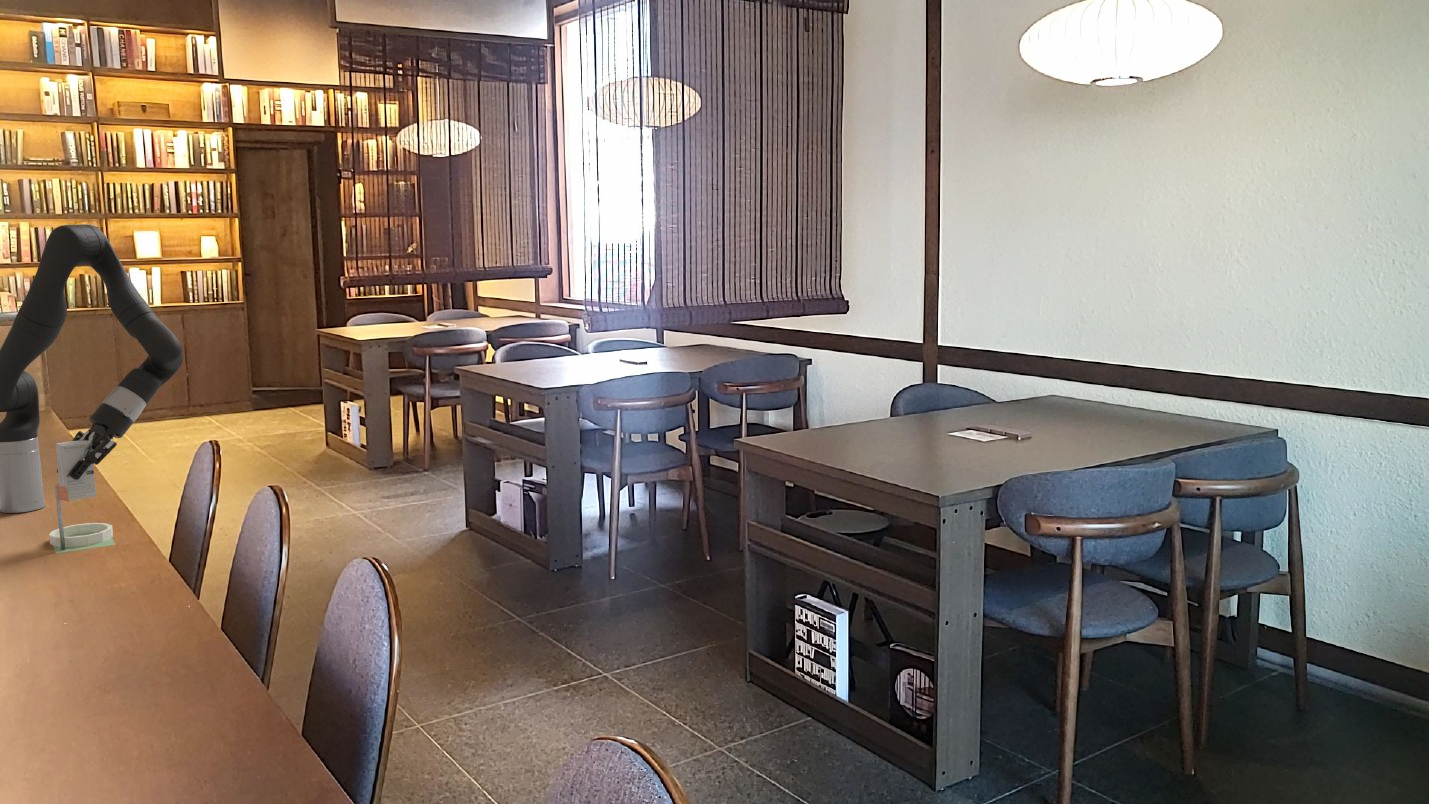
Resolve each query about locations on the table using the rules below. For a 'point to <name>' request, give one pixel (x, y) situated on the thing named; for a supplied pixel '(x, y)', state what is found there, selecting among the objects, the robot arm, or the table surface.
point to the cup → (99, 530)
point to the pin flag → (61, 495)
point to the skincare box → (66, 461)
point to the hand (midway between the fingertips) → (66, 475)
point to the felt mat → (96, 545)
